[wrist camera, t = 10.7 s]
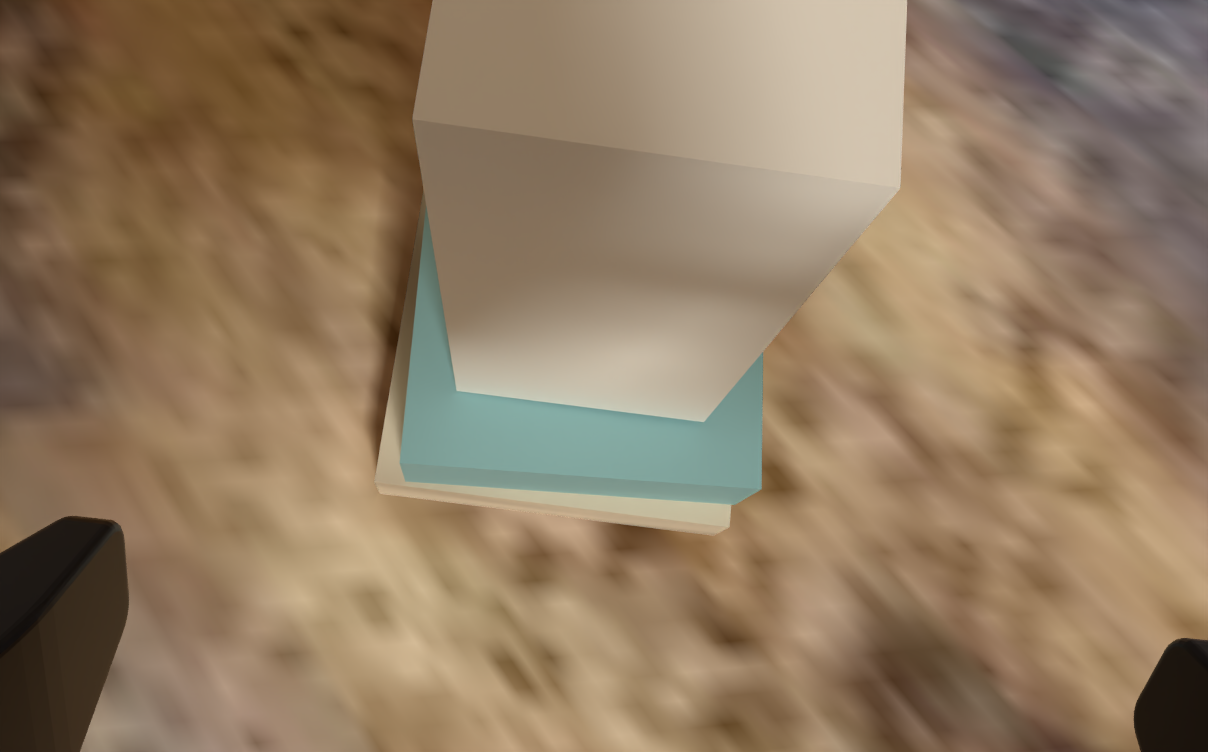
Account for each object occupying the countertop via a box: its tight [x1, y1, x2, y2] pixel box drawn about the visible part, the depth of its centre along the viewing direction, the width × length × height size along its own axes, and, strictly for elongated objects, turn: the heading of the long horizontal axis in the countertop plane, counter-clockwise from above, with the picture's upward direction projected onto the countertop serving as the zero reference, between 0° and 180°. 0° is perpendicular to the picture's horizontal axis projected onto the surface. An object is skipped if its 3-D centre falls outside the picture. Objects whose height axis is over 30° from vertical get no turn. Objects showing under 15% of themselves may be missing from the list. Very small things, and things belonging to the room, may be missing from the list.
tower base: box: [374, 190, 731, 536], centre depth 23 cm, size 7×7×2 cm
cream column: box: [412, 0, 907, 422], centre depth 15 cm, size 4×4×10 cm
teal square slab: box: [400, 207, 763, 505], centre depth 21 cm, size 6×6×2 cm
